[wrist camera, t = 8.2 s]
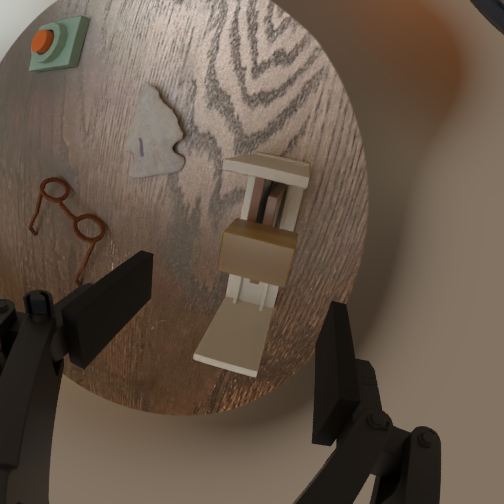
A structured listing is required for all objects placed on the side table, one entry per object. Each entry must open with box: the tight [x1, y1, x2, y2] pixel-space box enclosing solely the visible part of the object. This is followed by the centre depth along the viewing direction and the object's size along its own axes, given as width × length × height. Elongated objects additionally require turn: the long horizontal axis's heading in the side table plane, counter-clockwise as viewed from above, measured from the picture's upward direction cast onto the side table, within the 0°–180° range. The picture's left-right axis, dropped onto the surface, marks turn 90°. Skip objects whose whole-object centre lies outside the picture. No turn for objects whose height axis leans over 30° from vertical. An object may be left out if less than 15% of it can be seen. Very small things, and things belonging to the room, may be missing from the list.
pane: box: [217, 183, 298, 288], centre depth 27 cm, size 8×5×13 cm, turn 169°
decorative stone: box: [124, 82, 184, 178], centre depth 33 cm, size 8×12×3 cm
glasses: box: [29, 177, 105, 287], centre depth 40 cm, size 13×13×5 cm
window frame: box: [194, 152, 310, 377], centre depth 30 cm, size 18×6×14 cm, turn 169°
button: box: [31, 30, 54, 53], centre depth 28 cm, size 4×4×2 cm
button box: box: [29, 16, 90, 72], centre depth 30 cm, size 8×10×4 cm
